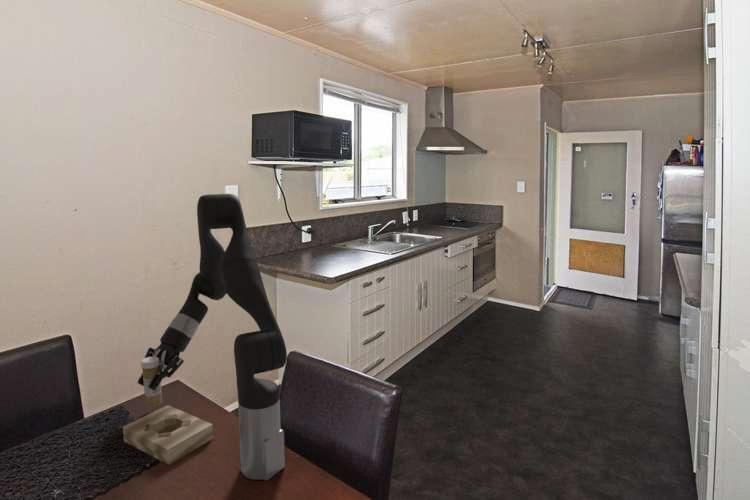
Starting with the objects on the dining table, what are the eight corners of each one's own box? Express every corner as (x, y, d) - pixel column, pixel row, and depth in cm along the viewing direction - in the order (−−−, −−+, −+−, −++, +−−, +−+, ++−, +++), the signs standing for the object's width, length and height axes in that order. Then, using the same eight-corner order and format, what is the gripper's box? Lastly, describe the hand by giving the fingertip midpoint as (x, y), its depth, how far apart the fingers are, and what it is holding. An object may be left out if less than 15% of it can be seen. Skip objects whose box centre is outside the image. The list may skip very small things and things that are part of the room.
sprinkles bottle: (160, 398, 139) (156, 354, 137) (164, 404, 136) (161, 359, 133) (143, 403, 136) (139, 358, 134) (147, 409, 133) (143, 363, 130)
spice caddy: (213, 438, 124) (212, 424, 123) (168, 464, 113) (167, 449, 112) (169, 418, 133) (168, 405, 132) (124, 441, 122) (122, 426, 121)
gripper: (156, 322, 142) (120, 375, 134) (187, 330, 135) (151, 387, 127) (173, 333, 147) (140, 385, 140) (204, 342, 140) (171, 398, 132)
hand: (145, 386), depth 133 cm, fingers closed on sprinkles bottle, 4 cm apart
